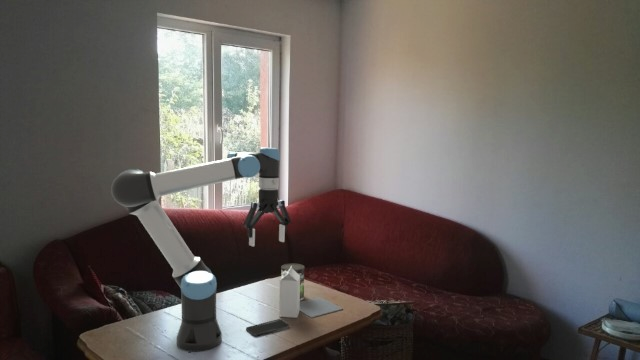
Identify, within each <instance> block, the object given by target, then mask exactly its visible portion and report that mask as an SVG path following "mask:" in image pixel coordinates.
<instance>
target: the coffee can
mask: <svg viewBox="0 0 640 360" xmlns="http://www.w3.org/2000/svg"><path fill="white" fill-rule="evenodd" d="M291 266H292V269H293V270H294V271H295V272H297V273H298V274H299V275H300V302H302V300H303V301H304V299H305V269H306V268H305V265H303V264H300V263H295V262H293V263H284V264H283V265H281V266H280V269H281V270H280V271H281V273H280V275H281V278H282V276H283V275H282V273H283V272H284V271H285V270H286V271H288V270H289V269H290V267H291ZM281 278H280V279H281Z"/></svg>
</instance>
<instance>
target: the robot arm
mask: <svg viewBox="0 0 640 360" xmlns="http://www.w3.org/2000/svg"><path fill="white" fill-rule="evenodd" d="M280 161H281V160H280V150H279V149H278V148H277V147H260V148H259V151H258V152H244V151H243V152H240V151H236V152H235V151H233V152H228V153H227V155H226V158H224V159H220V160H215V161H209V162H205V163H201V164H196V165H191V166H186V167H182V168H176V169H173V170H167V171H163V172H157V173H155V172H152V171H146V172H145V171H143V170H140V169H138V168H129V169H126V170H124V171H122V172H121V173H119V174H118V175H117V176H116V177H115V178H114V180H113V181H112V183H111V188H110V192H111V196H112V198H113V200H114V201H115V202H116V203H117V204H119V205H120V206H122V207H124V208H125V209H126V210H127V212H128V214H129V215H133V216H136V217H137V218H138V220H139V221H140V223H141V225H143V227H144V229H145V231H147V233H148V234H149V236H150V238H151V239H152V240H153V242H154V244H155V245H156V246H157V248H158V250H160V252H161V254H162V255H163V256H164V258H165V260H166V261H167V263H168V264H169V265H170V267H171V268H172V275H171V276H172V278H173V279H174V281H175V282H176V283H177V285H178V286H179V288H180V293H181V296H180V297H181V298H180V299H181V300H180V301H181V303H180V304H181V323H180V325H179V328H178V331H177V335H176V345H177V347H178V348H179V349H181V350H183V351H187V352H202V351H207V350H211V349H213V348H214V349H215V347H217V346H219V345H220V344H221V343H222V341H223V340H222V337H223V336H222V331H221V327H220V325H219V322H218V319H217V287H218V286H217V284H218V283H217V278H216V276H215V275H214V274H213V273H212V271H211V269H210V268H209V267H208V266H206V264H205V263H204V261H203V260H202V259H201V257H200V256H195V255H194V254H193V253H192V251H191V250H190V248H189V246H188V245H187V244H186V241H185V240H184V238H183V237H182V236H181V234H180V232H178V229H177V228H176V226H174V223H173V222H172V221H171V219H170V217H169V216H168V214H166V212H165V210H164V209H163V207H162V206H161V204H160V202H159V200H160V198H161V197H163V196H167V195H171V194H176V193H181V192H185V191H189V190H193V189H198V188H202V187H208V186H211V185H216V184H220V183H221V184H222V183H225V182H228V181H229V182H230V181H233V180H239V179H242V178H247V179H249V178H253V177H256V176H257V175H258V188H259V189H258V202H255V201H251V203H250V209H249V211H248V213H247V215H246V217H245V219H244V222H243V224H242V227H244V228H247V237H248V246H251V247H255V244H256V243H255V242H256V241H255V240H256V229H255V227H256V225H257V223H258V222H259V221H260V219H261V218H262V217H263V216H264V215H265V214H269V213H270V214H274V216H275V217H276V218H277V220H278V221H279V222H280V224H279V225H278V227H279V229H278V230H279V231H278V241H279V242H281V243H285V241H286V240H285V238H286V237H285V234H286V233H287V226H289V224H291V223H292V221H291V218H290V215H289V212H288V209H287V207H286V201H285V200H283V199H279V189H278V188H279V187H280V186H279V185H280ZM278 199H279V200H278ZM278 207H279V209H278Z"/></svg>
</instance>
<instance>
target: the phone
mask: <svg viewBox="0 0 640 360" xmlns="http://www.w3.org/2000/svg"><path fill="white" fill-rule="evenodd" d="M289 328H290V324H289V323H287V322H286V321H284V320H282V319H279V318H278V319H274V320H269V321H267V322H262V323H259V324H254V325H251V326H248V327H247V326H246V328H245V331H246V332H247V333H249V335H251V336H252V337H254V338H258V337H262V336H266V335H268V334H269V335H270V334H273V333H276V332H280V331H283V330H287V329H289Z"/></svg>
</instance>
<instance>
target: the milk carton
mask: <svg viewBox="0 0 640 360" xmlns="http://www.w3.org/2000/svg"><path fill="white" fill-rule="evenodd" d="M282 275H283V276H282V278H280V280H279V318H280V317H281V318H293V319H294V318H296V319H297V318H298V317H299V314H300V302H301V301H300V275H299V274H298V273H297V272H295V271H294V270H293V269H292V266H291V267H290V269H289V270H288V271H286V270H285V271H284V272H283V273H282Z"/></svg>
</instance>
